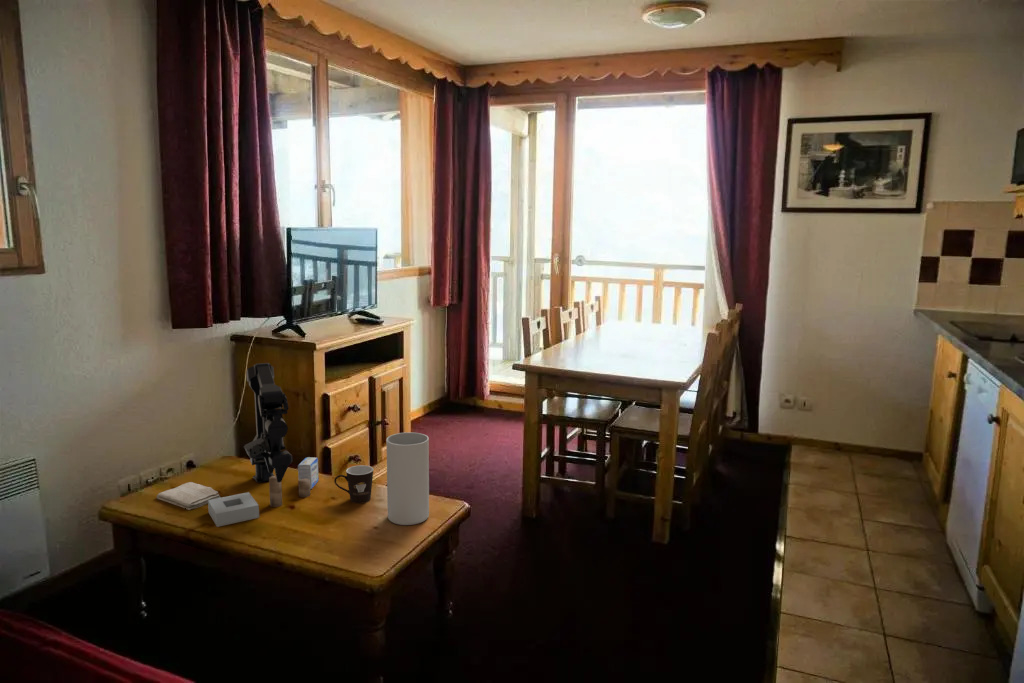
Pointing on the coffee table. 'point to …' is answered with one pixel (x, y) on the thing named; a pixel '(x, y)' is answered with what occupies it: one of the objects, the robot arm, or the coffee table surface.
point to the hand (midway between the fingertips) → (275, 477)
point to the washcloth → (189, 495)
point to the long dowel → (275, 492)
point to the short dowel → (304, 487)
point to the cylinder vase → (407, 478)
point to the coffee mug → (358, 483)
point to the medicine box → (309, 470)
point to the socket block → (233, 509)
